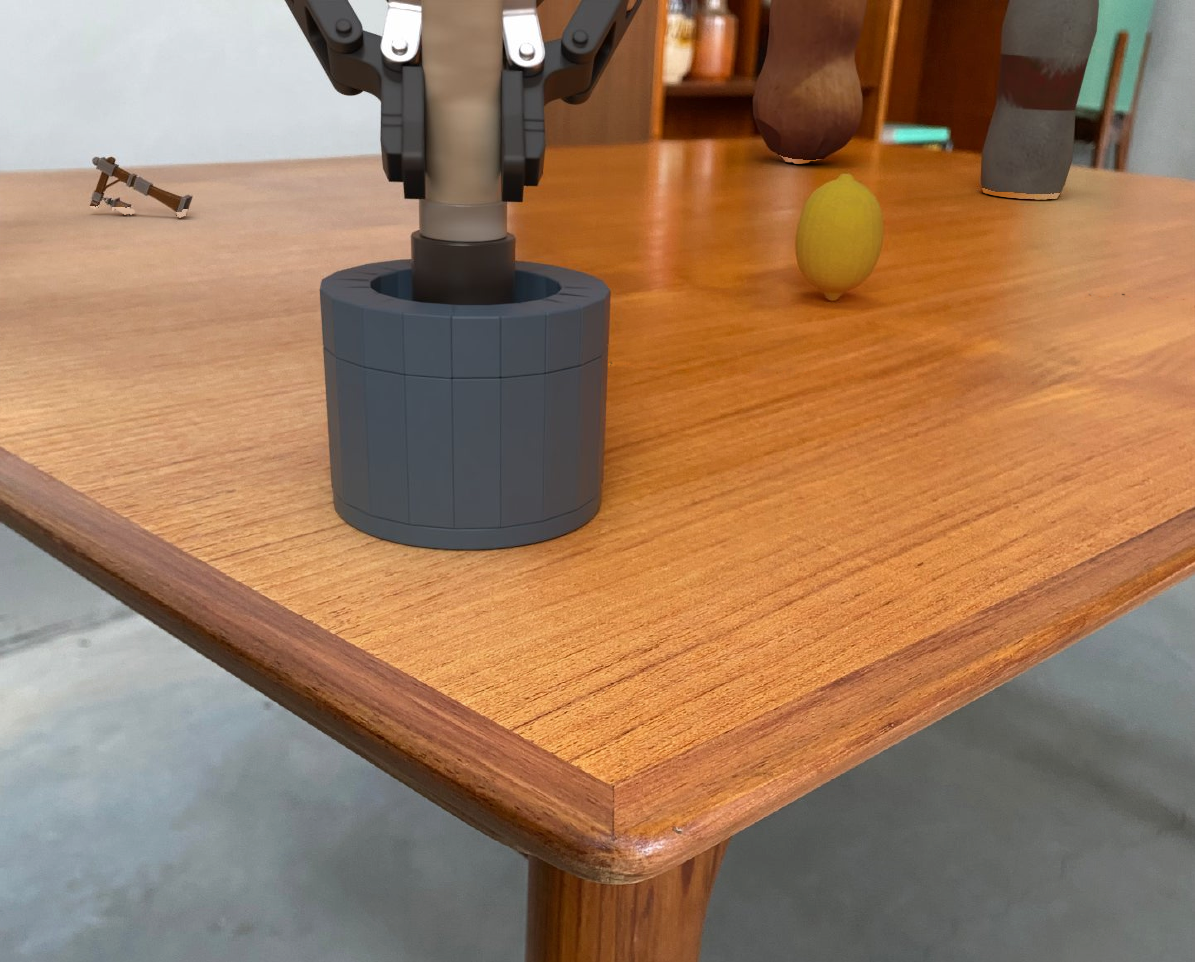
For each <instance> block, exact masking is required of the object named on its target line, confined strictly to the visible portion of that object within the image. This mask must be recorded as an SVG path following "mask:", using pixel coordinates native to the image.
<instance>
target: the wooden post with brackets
mask: <svg viewBox="0 0 1195 962" xmlns="http://www.w3.org/2000/svg"><path fill="white" fill-rule="evenodd" d="M116 161H117V159H116V158H115V157H113V156H109V157H107V158H106V157H105V156H103V157H102V156H101V157H100V156H94V157H93V158H92V161H91V163H92V164H93V165H94V166H96V167H95V169H96V170H99V171H101V173H100V175H99V179H98V181H97V184H96V187H95V190H93V192H92V195H91V197H90V199H91V200H90V204H89V206H95V207H96V206H98V205H99V206H100V205H101V202H102V201H104V203H105V204H106V206H110V208H111V207H125V208H127V207H130V208H132V203H127V202H125V201H122V200H121V197H116V198H112V197H104V196H105V192H106V190H107V189H108V188H111V187H112V186H113V185H116V184H118V183H119V182H121V183H124V184H126V185H125V186H126V187H128V188H132V190H133V191H137V192H139V193H141V194H142V195H143V196H145V197H148V196H149V197H151V198H153V199H155V200H156V201H158V202H159V203H161V204H163V205H165V206H166V207H168V208H170V209H171V210H172V211H173V212H175V213H176V212H182V210H183V209H188V210H190V205H191V203H192V200H193V197H194V196H193V195H190V194H186V195H183V196H181V195H178V194H175V193H172V192H170V191H167V190H164V189H161V188H159V187H157V186H155V185H154V183H153V182H149V181H148V180H146V179H144V178H143V177H142V176H138V174H135V172H133V173H130V172H128V171H127V170H125V169H123V168H121V167H120V164H118V163H116ZM110 177H114V178H116V179H115V180H114V181H112V182H110V183H108V181H109V178H110Z"/></svg>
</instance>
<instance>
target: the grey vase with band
mask: <svg viewBox="0 0 1195 962" xmlns="http://www.w3.org/2000/svg"><path fill="white" fill-rule="evenodd" d="M1099 8H1100V0H1009V1H1008V4H1007V8H1006V11H1005V15H1004V20H1003V23H1002V27H1001V41H1000V42H1001V43H1000V57H999V69H998V78H997V79H998V80H997V89H996V101H995V103H996V104H995V107H994V110H993V112H992V113H993V114H992V117H991V120H990V123H989V127H988V130H987V133H986V137H985V139H984V140H985V141H984V144H983V147H982V151H981V160H980V163H981V164H980V186H981V189H982V188H985V189H988V190H991V191H995V192H1014V193H1026V194H1051V193H1052V194H1054V193H1060V192H1061V193H1062V192H1063V189H1064V187H1065V185H1066V182H1067V179H1068V176H1069V172H1070V169H1071V166H1072V162H1073V158H1074V157H1073V156H1074V143H1075V130H1076V129H1075V127H1076V126H1075V125H1076V109H1077V105H1078V101H1079V97H1080V94H1081V90H1082V85H1083V81H1084V78H1085V74H1086V71H1087V67H1088V63H1089V58H1090V55H1091V52H1092V49H1093V46H1094V42H1095V39H1096V35H1097V32H1098V23H1099V21H1098V20H1099V10H1100V9H1099Z"/></svg>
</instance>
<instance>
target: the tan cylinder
mask: <svg viewBox="0 0 1195 962" xmlns="http://www.w3.org/2000/svg"><path fill="white" fill-rule="evenodd" d="M421 26H422V67H423V69H424V107H425V164H426V199H418V227H419V228H418V229H417V230H415V231H413V232H411V234H410V259H411V269H412V301H416V302H422V303H435V304H449V305H499V304H513V303H515V260H516V245H517V243H516V236H515V234H514V233H513V234H512V233H511V232H509V231H508V202H502V198H501V71H502V49H503V0H421Z"/></svg>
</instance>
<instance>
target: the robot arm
mask: <svg viewBox="0 0 1195 962" xmlns="http://www.w3.org/2000/svg"><path fill="white" fill-rule="evenodd" d="M385 1H386V3H387V11H386V16H385V20H384V25H383V29H382V30H383V31H382V35H380V34H377V33H373V32H370V31H367V30H364V27H363V24H362V22H361V20H360V19H359V17H358V15H357V13H356V12H355V10H354V8H353V6H352V4H351V3H350V1H349V0H284V2H285V3H286V6H287V7H288V9H289V11H290V13H291V14H292V17H293V18H294V19H295V21H296V23H297V26H298V27H299V29H300V31H301V32H302V34H303V35H304V37H305V39H306V41H307V43H308V44H309V46H310V48H311V49H312V50H311V51H312V52H313V53H314V55H315V57H316V58H317V60H318V62H319V64H320V66H321V67H322V69H323V71H324V73H325V75H326V77H327V78H328V80H329V82H330V83H331V85H332V87H333V88H334V90H335V91H336V92H338V93H339V94H340V95H343V96H348V97H353V96H358V95H360V94H362V93H363V92H364V93H368V94H369V95H372V96H374V97H375V98H377V100H379V102H380V131H379V132H380V135H379V137H380V138H379V141H380V153H381V163H382V164H381V165H382V170H383V172H384V174H385V176H386V179H387V181H388V183H402V185H403V198H404V200H419V199H426V164H425V107H424V69H423V67H422V26H421V0H385ZM544 1H545V0H503V49H502V71H501V198H502V202H507V203H523V202H524V192H525V191H524V189H525V187H538V186H539V184H540V181H541V179H542V177H543V175H544V167H545V166H544V164H545V157H546V146H547V145H546V123H545V120H546V119H545V107H546V105H548V104H549V103H551V102H553V101H556V100H561V101H563V102H564V103H565V104H569V105H572V106H573V105H574V106H577V105H578V106H579V105H582V104H584V103H586V102H587V101H588V100H589V99H590V97H591V95H592V94H593V92H594V90H595V88H596V87H597V85H598V83H599V81H600V79H601V77H602V76H603V74H604V72H605V70H606V68H607V66H608V65H609V63H610V61H611V59H612V57H613V55H614V54H615V52H616V50H617V48H618V47H619V45H620V43H621V41H622V39H623V38H624V36H625V34H626V32H627V30H628V28H629V27H630V25H631V23H632V21H633V20H634V18H635V15H636V14H637V12H638V10H639V9H640V7H641V5H642V3H643V0H581V1H580V2H579V4H578V6H577V8H576V9H575V11H574V12H573V14H572V16H571V17H570V19H569V21H568V23H567V25H566V27H565V28H564V30H563V32H562V34H561V37H560V38H557V39H553V40H549V41H545V42H544V40H543V35H542V31H541V26H540V20H539V16H538V10H537V9H538V8H539V7H540V5H542V4H543V2H544Z"/></svg>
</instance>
